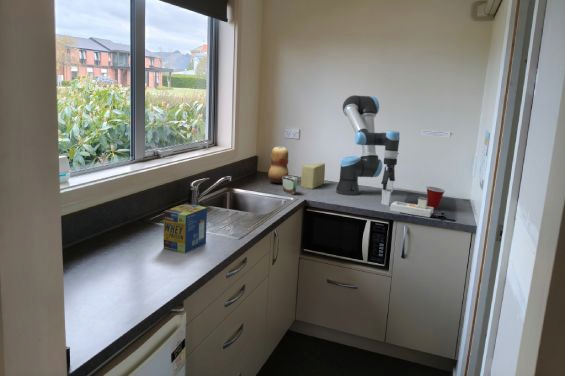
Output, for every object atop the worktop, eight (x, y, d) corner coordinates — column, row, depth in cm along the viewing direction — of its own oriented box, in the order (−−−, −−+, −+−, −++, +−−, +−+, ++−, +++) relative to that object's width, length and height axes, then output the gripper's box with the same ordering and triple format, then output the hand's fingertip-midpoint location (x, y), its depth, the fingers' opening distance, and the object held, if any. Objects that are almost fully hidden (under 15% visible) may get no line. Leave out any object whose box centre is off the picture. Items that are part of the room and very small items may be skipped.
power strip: (389, 210, 266) (390, 203, 265) (394, 206, 275) (395, 199, 274) (444, 219, 253) (445, 212, 252) (447, 215, 261) (448, 208, 260)
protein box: (162, 248, 185) (162, 210, 182) (185, 238, 199) (186, 202, 196) (184, 254, 181) (185, 215, 178) (206, 242, 195) (207, 206, 191)
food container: (301, 194, 291) (302, 178, 289) (293, 195, 288) (294, 179, 286) (289, 190, 301) (290, 175, 299) (281, 191, 297) (282, 175, 295)
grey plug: (381, 204, 279) (382, 189, 277) (382, 203, 282) (384, 188, 280) (388, 205, 277) (390, 190, 275) (390, 204, 280) (391, 189, 278)
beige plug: (416, 213, 262) (418, 198, 260) (417, 212, 265) (419, 196, 264) (424, 214, 260) (426, 199, 258) (425, 213, 264) (427, 198, 262)
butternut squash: (271, 185, 312) (273, 148, 307) (265, 181, 324) (267, 145, 319) (291, 185, 317) (293, 148, 312) (283, 181, 329) (286, 145, 324)
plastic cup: (444, 211, 271) (446, 191, 268) (424, 209, 273) (427, 189, 270) (441, 206, 281) (444, 187, 279) (423, 205, 283) (425, 185, 281)
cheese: (317, 182, 331) (318, 161, 328) (329, 185, 326) (330, 163, 322) (300, 187, 313) (301, 165, 310) (312, 189, 308) (314, 167, 305)
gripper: (391, 160, 261) (387, 197, 265) (402, 156, 283) (398, 190, 287) (378, 159, 264) (374, 195, 269) (389, 155, 286) (386, 189, 290)
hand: (387, 193), depth 278 cm, fingers open, 13 cm apart
